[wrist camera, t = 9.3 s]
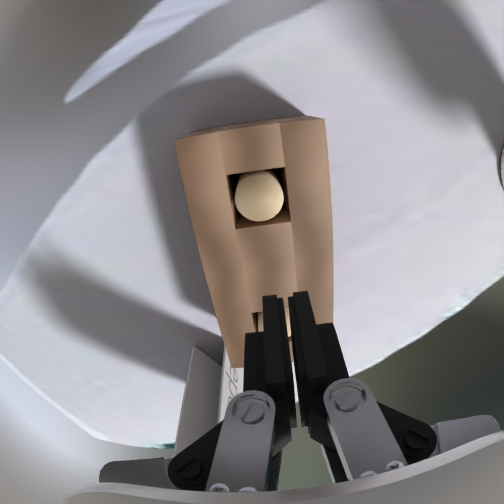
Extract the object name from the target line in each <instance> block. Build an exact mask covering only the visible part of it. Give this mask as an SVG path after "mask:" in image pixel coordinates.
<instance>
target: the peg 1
mask: <svg viewBox="0 0 504 504" xmlns="http://www.w3.org/2000/svg"><path fill="white" fill-rule="evenodd" d="M283 200H284V196H283V191H282V189H281V186H280V183H279V180H278V178H277V175H276V172H275V170H274V168H272V169H264V170H257V171H250V172H243V173H239V176H238V182H237V188H236V193H235V203H236V206H237V209H238V210H239V212H240V213H241V214H242V215H243V216H244V217H246V218H247V219H250V220H253V221H266V220H269V219H271V218H273V217H274V216H275V215H276V214H277V213H278V212H279V211H280V209H281V208H282V205H283Z"/></svg>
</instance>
